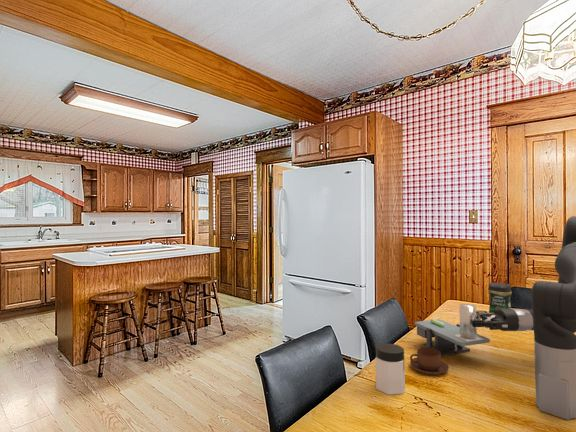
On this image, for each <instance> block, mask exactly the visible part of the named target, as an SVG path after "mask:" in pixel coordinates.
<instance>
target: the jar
mask: <svg viewBox="0 0 576 432" xmlns="http://www.w3.org/2000/svg"><path fill="white" fill-rule="evenodd" d="M374 359H375V389H376V390H377V391H380V392H382V393H384V394H385V395H388V396H390V395H403V394H404V391H405V388H406V376H405V375H406V373H405V372H406V371H405V349H404V348H403V346H401V345H399V344H396V343H387V342H386V343H379V344H377V345H376V346H375V358H374Z"/></svg>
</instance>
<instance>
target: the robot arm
mask: <svg viewBox="0 0 576 432" xmlns="http://www.w3.org/2000/svg"><path fill="white" fill-rule="evenodd" d="M563 228H564V229H563V234H562V240H561V241H562V242H561V249H560V250H559V252H558V254H557V256H556V258H555V261H554V269H555V271H556V273H557V275H558V279H557V282H555V281H546V280H545V281H541V280H539V281H535V282H534V283H533V285H532V287H531V291H530V292H531V294H530V298H531V299H530V300H531V309H524V308H511V309H498V310H496V312H495V314H492V313H489V312H488V311H486V310H476V320H472V326H473V327H476V328H485V329H489V330H490V331H498V330H500V331H502V332H526V331H533V339H534V342H533V346H534V377H535V378H534V383H535V384H534V385H535V404H536V406H537V407H538V410H539V411H540V412H543V413H547V414H548V415H553V416H556V417H559V418H561V419H563V420H567V421H569V420H570V419H576V216H570V217H569V218H568V219H567V220H566V222H565V225H564V227H563Z"/></svg>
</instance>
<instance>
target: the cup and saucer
mask: <svg viewBox="0 0 576 432" xmlns="http://www.w3.org/2000/svg"><path fill="white" fill-rule="evenodd" d="M416 351H417V352H416V353H412V354H411V355H410V357H409V360H410V362H409V364H410V366H411V367H412V369H414V370H416V371H417V372H420V373H423V374H426V375H441V374H445V373H447V372H448V371H449V368H450V366H449V364H448V363H447V362H445V361H443V360H442V359H441V358H442V356H441V352H440V351H438V350H436V349H433V348H417V350H416Z"/></svg>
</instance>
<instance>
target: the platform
mask: <svg viewBox="0 0 576 432" xmlns="http://www.w3.org/2000/svg"><path fill="white" fill-rule="evenodd" d="M414 326H416V335H417V336H419V337H421V338H423V339H426V328H430V329H432V339H433V338H435V337H434V334H436V335H438V336H440V337H442V338H444V339H446V340H449V341H451V342H453V343H455V344H457V345H460V346H465V347H468V346H476V345H482V344H487V343H488V344H489V343H491V338H489V337H486V336H484V335H481V334H478V333H477V339H465V338H462V337H460V327H458V326H456V325H455V324H453V323H451V322H447V321H445V320H443V319H440V318H438V319H435V318H430V319H428V320H420V321H414Z"/></svg>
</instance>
